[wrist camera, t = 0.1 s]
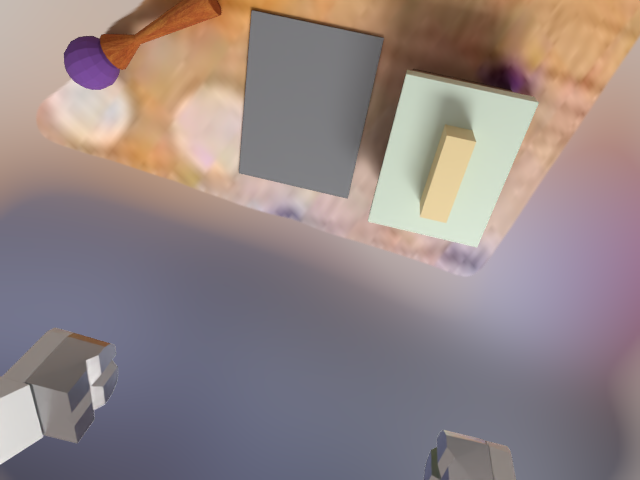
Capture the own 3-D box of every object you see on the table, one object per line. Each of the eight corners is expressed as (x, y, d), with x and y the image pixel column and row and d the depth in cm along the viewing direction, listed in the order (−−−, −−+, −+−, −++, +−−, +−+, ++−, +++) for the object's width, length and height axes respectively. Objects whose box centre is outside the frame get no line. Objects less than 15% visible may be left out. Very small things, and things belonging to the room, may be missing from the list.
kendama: (222, 33, 50) (80, 105, 55) (231, 19, 54) (99, 86, 60) (190, -24, 46) (43, 58, 52) (203, -34, 51) (66, 42, 57)
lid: (406, 69, 46) (405, 82, 42) (533, 96, 46) (547, 113, 41) (369, 212, 55) (365, 236, 51) (474, 237, 55) (480, 264, 50)
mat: (252, 10, 51) (251, 10, 51) (383, 37, 51) (383, 38, 50) (239, 172, 62) (239, 173, 62) (347, 197, 61) (347, 198, 61)
